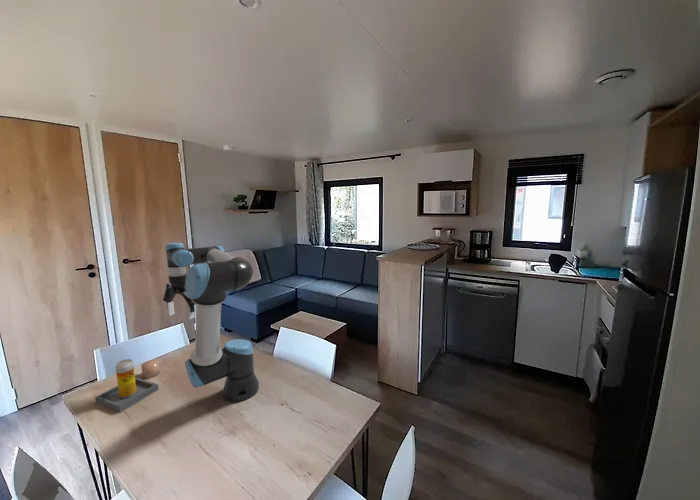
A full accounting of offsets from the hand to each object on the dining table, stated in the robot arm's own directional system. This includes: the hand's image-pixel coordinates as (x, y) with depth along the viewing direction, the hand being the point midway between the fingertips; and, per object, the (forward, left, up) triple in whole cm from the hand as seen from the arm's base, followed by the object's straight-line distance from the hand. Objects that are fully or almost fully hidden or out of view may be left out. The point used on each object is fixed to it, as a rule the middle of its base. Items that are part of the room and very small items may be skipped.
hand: (181, 316), depth 145 cm
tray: (+6, +24, -29) cm, 38 cm away
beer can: (+6, +24, -28) cm, 37 cm away
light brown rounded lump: (+13, +9, -29) cm, 33 cm away
